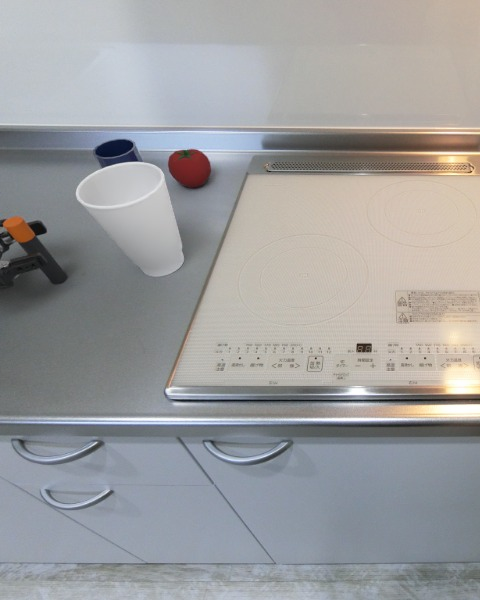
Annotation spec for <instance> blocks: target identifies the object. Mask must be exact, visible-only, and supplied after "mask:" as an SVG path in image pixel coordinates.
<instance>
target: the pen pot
mask: <svg viewBox="0 0 480 600" xmlns="http://www.w3.org/2000/svg"><path fill="white" fill-rule="evenodd" d="M92 155H93V157H94V159H95V160H96V162H97V164H98V166H99V168H100V169H102V168H105V167H108V166H111V165H115V164H120V163H126V162H144V163H146V162H145V161H144V158H143V156H142V154H141V151H140V149H139V148H138V145H137V143H136V142H135V141H134V140H132V139H129V138H114V139H108V140H105V141H103V142H101V143H99V144H98V145H96V146H95V147H94V148H93V150H92Z"/></svg>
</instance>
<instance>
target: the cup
mask: <svg viewBox="0 0 480 600" xmlns="http://www.w3.org/2000/svg"><path fill="white" fill-rule="evenodd" d="M144 162H145V161H144ZM144 162H126V163H120V164H115V165H111V166H108V167H105V168H102V169H101V168H100V169H97V170H96V171H94V172H92V173H91V174H89V175H87V176H86V177H85V178H83V180H81V181H80V182H79V184H77V185H78V186H77V187H76V190H75V198H76V200H77V201H78V203H80V204H81V205H82V207H84V208H85V209H86V211H87V212H88V214H90V215H91V216H92V218H94V220H95V221H96V222H97V223H98V225H100V226H101V228H102V230H103V231H105V232H106V234H107V235H108V236H109V237H110V239H112V241H113V242H114V243H115V244H116V245H117V246H118V247H119V249H121V251H122V252H123V253H124V254H125V255H126V256H127V258H128V259H129V260H130V261H131V262H132V263H133V264H134V265H135V266H137V267H139V269H140V270H141V271H142V273H144V275H146V276H149V277H154V278H159V277H165V276H168V275H171V274H173V273H175V272H176V271H178V270H179V269H180V268H181V267H182V266H183V265H184V262H185V255H184V252H183V242H182V238H181V235H180V234H181V233H180V231H179V227H178V223H177V220H176V217H175V211H174V207H173V205H172V204H173V203H172V201H171V198H170V193H169V190H168V186H167V182H166V178H165V177H166V176H165V174H164V172H163V170H162V169H161V168H160V167H159V166H157V165H155V164H152V163H150V162H145V163H144Z"/></svg>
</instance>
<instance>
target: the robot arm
mask: <svg viewBox="0 0 480 600" xmlns="http://www.w3.org/2000/svg"><path fill="white" fill-rule="evenodd" d="M7 219H8V218H7ZM7 219H6V218H2V219H0V291H2V290H6V289H10V288H12V287H13V286H14V285H15V283H14V279H17V278H18V277H20V275H21V274H24V273H28V272H31V271H34V270H40V268H41V267H44V266H46V265H47V260H46V259H45V258H44V256H43V255H42V254H41V253H33V254H29V255H28V254H26V255H22V256H19V257H14V258H10V260H2V258H3V255H4V254H5V253H6V252H8V251H10V248H11V247H10V246H12V245H13V244H15V243H18V242H17V241H16V240H15V239H14V238H13V237H12V235H11V234H10V233H9V232H8V231H7V229H6V228H5V227H4V226H3V223H4V221H5V220H7ZM26 223H27V224H28V226H29V227H30V228H31V229H32V231H33V232H34V233H35V235H36V236H37V237H38V236H43V235H45V234H47V233H48V228H47V226H45V224H44V223H43V222H42V221H41V220H33V221H29V222H26ZM5 238H6V239H5Z"/></svg>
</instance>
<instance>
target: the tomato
mask: <svg viewBox="0 0 480 600" xmlns="http://www.w3.org/2000/svg"><path fill="white" fill-rule="evenodd" d="M167 167H168V172H169V174H170V176H172V178H173V179H174V180H175V181H176V182H178V184H180V185H182V186H184V187H187V188H192V189H193V188H197V187H201V186H202V185H204V184H205V183H206V182H207V180H208V179H209V177H210V176H211V172H212V166H211V161H210V160H209V157H208V156H207V155H206V153H205V154H204V152H203V151H200V150H199V149H196V148H187V149H180V150H179V149H178V150H175V151H174V152H173V153H171V154H170V155H169V156H168V159H167Z"/></svg>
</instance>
